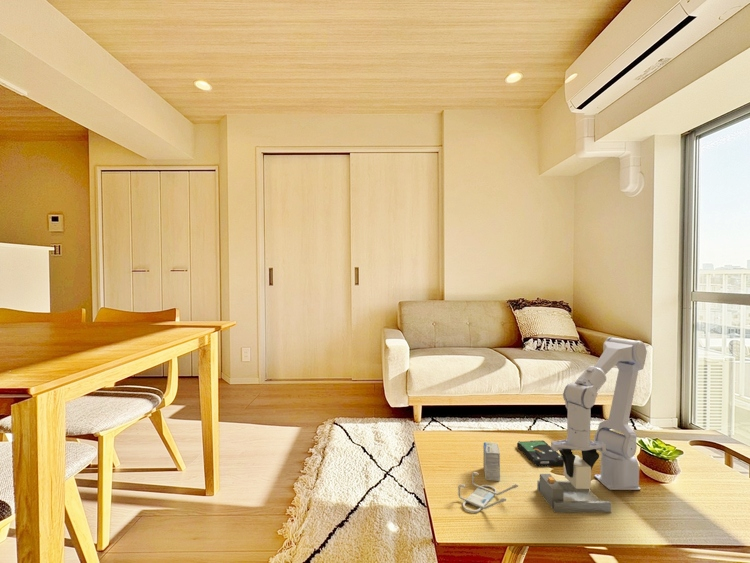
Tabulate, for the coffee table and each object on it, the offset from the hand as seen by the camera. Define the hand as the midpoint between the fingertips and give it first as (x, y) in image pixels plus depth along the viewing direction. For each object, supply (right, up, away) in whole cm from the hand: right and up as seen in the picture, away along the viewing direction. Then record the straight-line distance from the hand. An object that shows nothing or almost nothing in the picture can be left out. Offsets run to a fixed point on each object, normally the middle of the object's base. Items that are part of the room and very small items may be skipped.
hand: (577, 475), depth 108 cm
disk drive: (+1, -7, +27) cm, 28 cm away
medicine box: (-20, -7, +14) cm, 25 cm away
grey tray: (-1, -7, 0) cm, 7 cm away
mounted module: (-7, -7, 0) cm, 10 cm away
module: (0, -2, +1) cm, 2 cm away
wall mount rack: (-25, -7, -1) cm, 27 cm away
